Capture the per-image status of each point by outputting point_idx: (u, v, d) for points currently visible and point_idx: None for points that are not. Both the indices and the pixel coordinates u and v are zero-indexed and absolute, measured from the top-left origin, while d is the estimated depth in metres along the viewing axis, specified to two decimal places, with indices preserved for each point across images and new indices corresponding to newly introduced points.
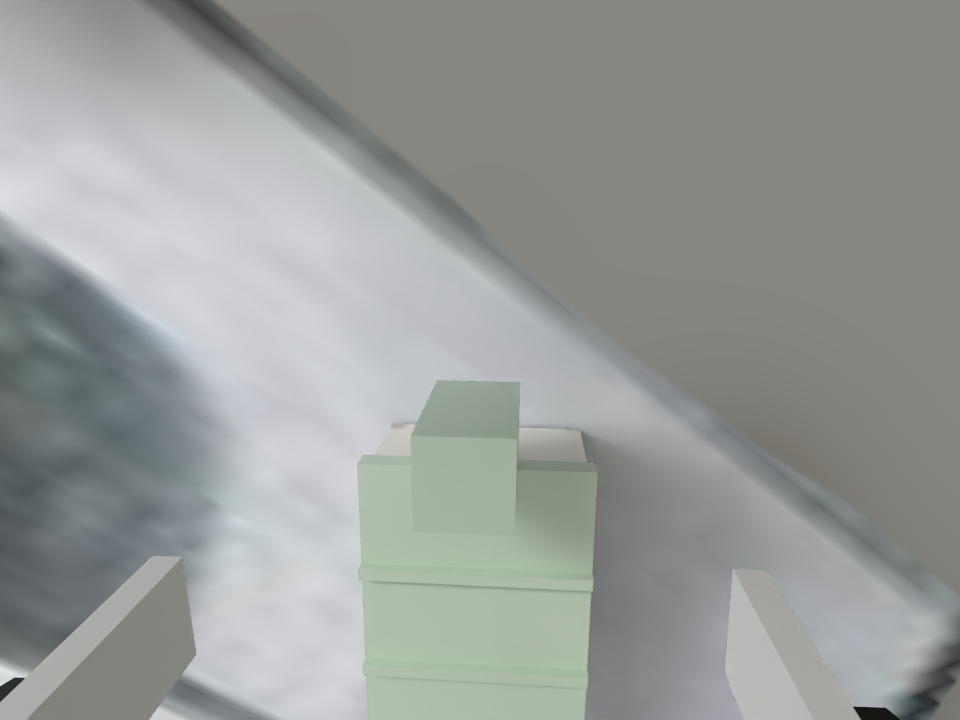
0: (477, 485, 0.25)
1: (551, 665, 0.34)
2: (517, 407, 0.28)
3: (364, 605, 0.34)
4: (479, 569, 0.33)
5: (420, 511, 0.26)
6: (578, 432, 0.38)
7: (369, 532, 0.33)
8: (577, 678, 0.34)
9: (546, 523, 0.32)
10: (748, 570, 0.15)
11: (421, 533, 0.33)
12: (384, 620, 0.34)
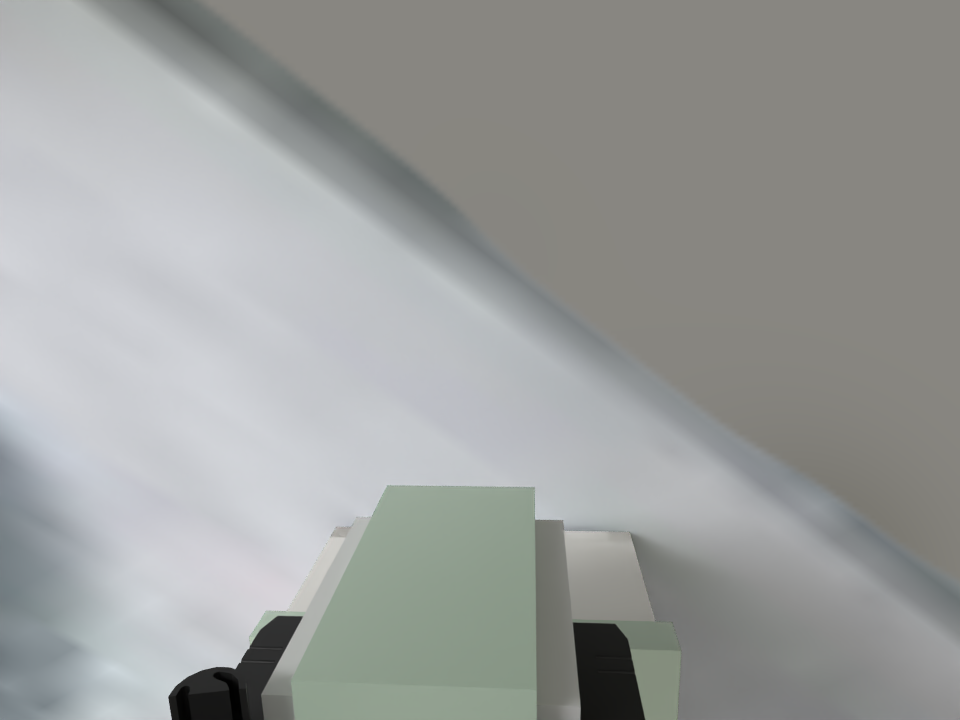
0: None
1: None
2: (533, 563, 0.14)
3: None
4: None
5: None
6: (629, 540, 0.24)
7: None
8: None
9: None
10: (546, 521, 0.17)
11: None
12: None
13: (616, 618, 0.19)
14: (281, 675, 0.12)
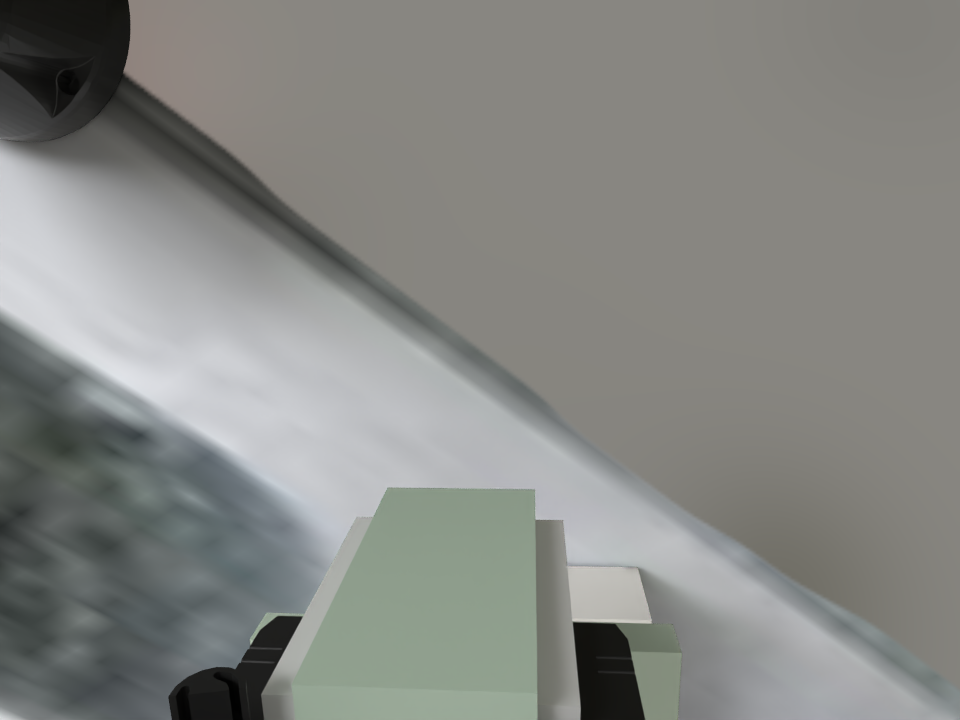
0: None
1: None
2: (533, 566, 0.14)
3: None
4: None
5: None
6: (637, 571, 0.45)
7: None
8: None
9: None
10: (546, 521, 0.17)
11: None
12: None
13: (631, 611, 0.41)
14: (281, 675, 0.12)
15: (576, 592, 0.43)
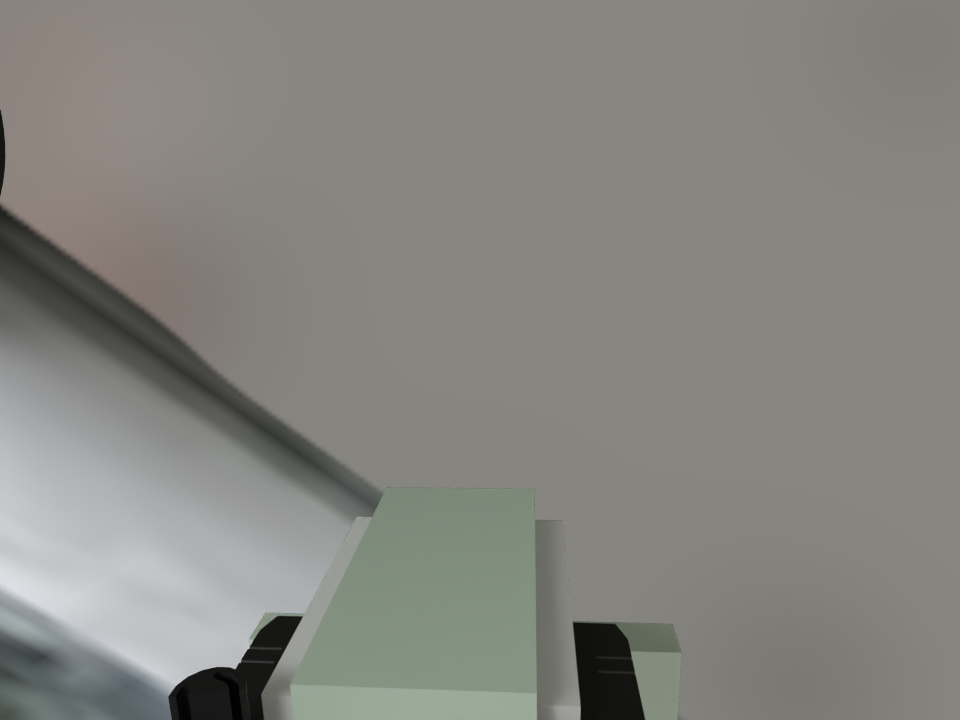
0: None
1: None
2: (532, 566, 0.14)
3: None
4: None
5: None
6: None
7: None
8: None
9: None
10: (546, 521, 0.17)
11: None
12: None
13: None
14: (281, 675, 0.12)
15: None
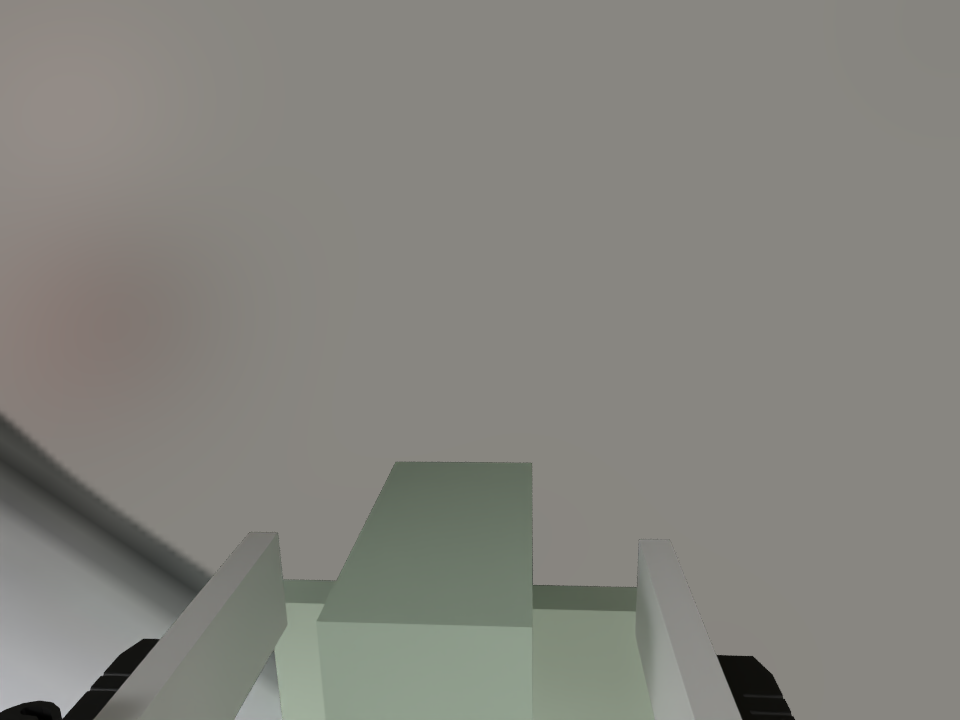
0: (455, 713, 0.13)
1: None
2: (529, 527, 0.16)
3: None
4: None
5: None
6: None
7: (294, 707, 0.21)
8: None
9: (582, 692, 0.20)
10: (652, 540, 0.16)
11: None
12: None
13: None
14: (113, 707, 0.11)
15: None
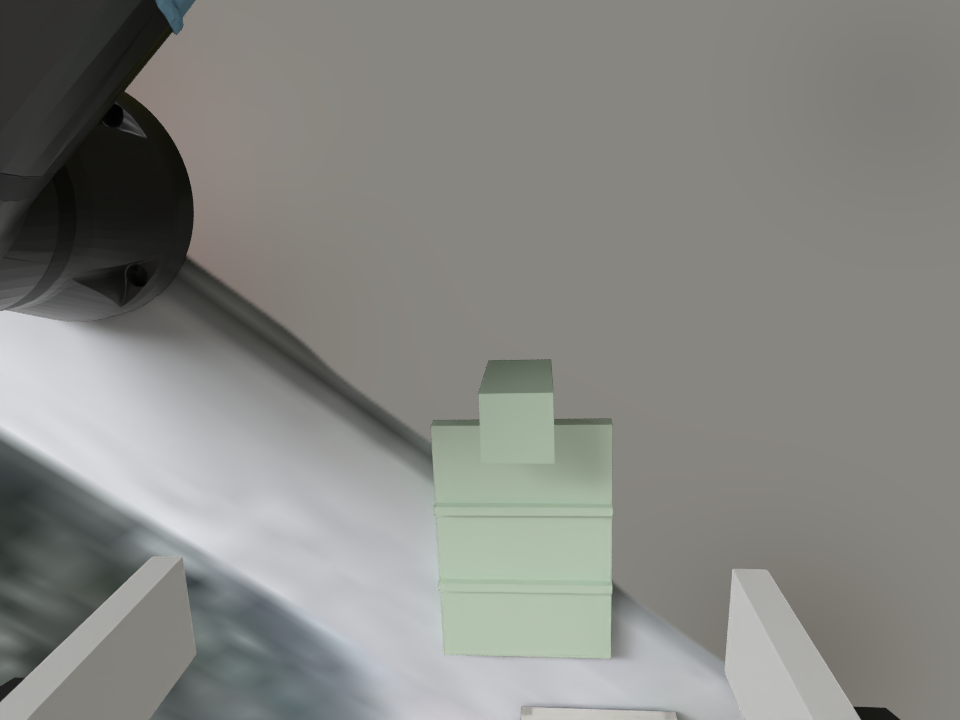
0: (526, 427, 0.36)
1: (583, 578, 0.45)
2: (551, 374, 0.39)
3: (438, 536, 0.45)
4: (525, 503, 0.44)
5: (486, 448, 0.36)
6: (675, 718, 0.47)
7: (440, 479, 0.44)
8: (603, 586, 0.44)
9: (575, 465, 0.43)
10: (748, 570, 0.15)
11: (480, 477, 0.43)
12: (453, 547, 0.45)
13: None
14: None
15: None
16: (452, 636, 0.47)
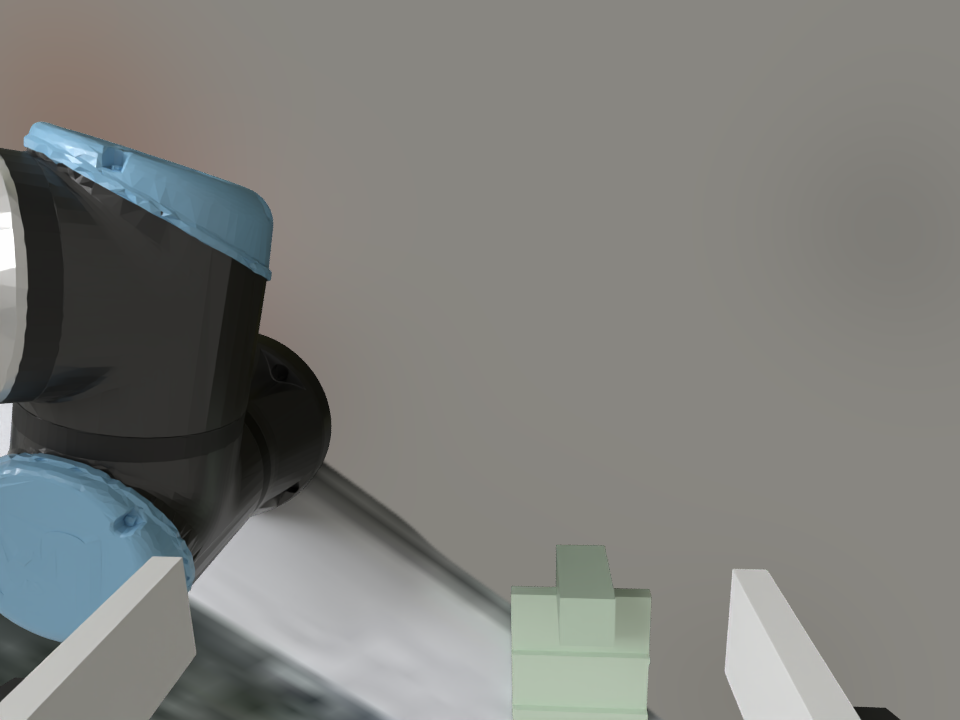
0: (594, 621, 0.49)
1: (625, 707, 0.58)
2: (609, 570, 0.52)
3: (512, 674, 0.58)
4: (582, 652, 0.57)
5: (564, 635, 0.49)
6: None
7: (516, 632, 0.57)
8: (641, 715, 0.57)
9: (622, 626, 0.56)
10: (748, 570, 0.15)
11: (547, 632, 0.56)
12: (524, 682, 0.58)
13: None
14: None
15: None
16: None
